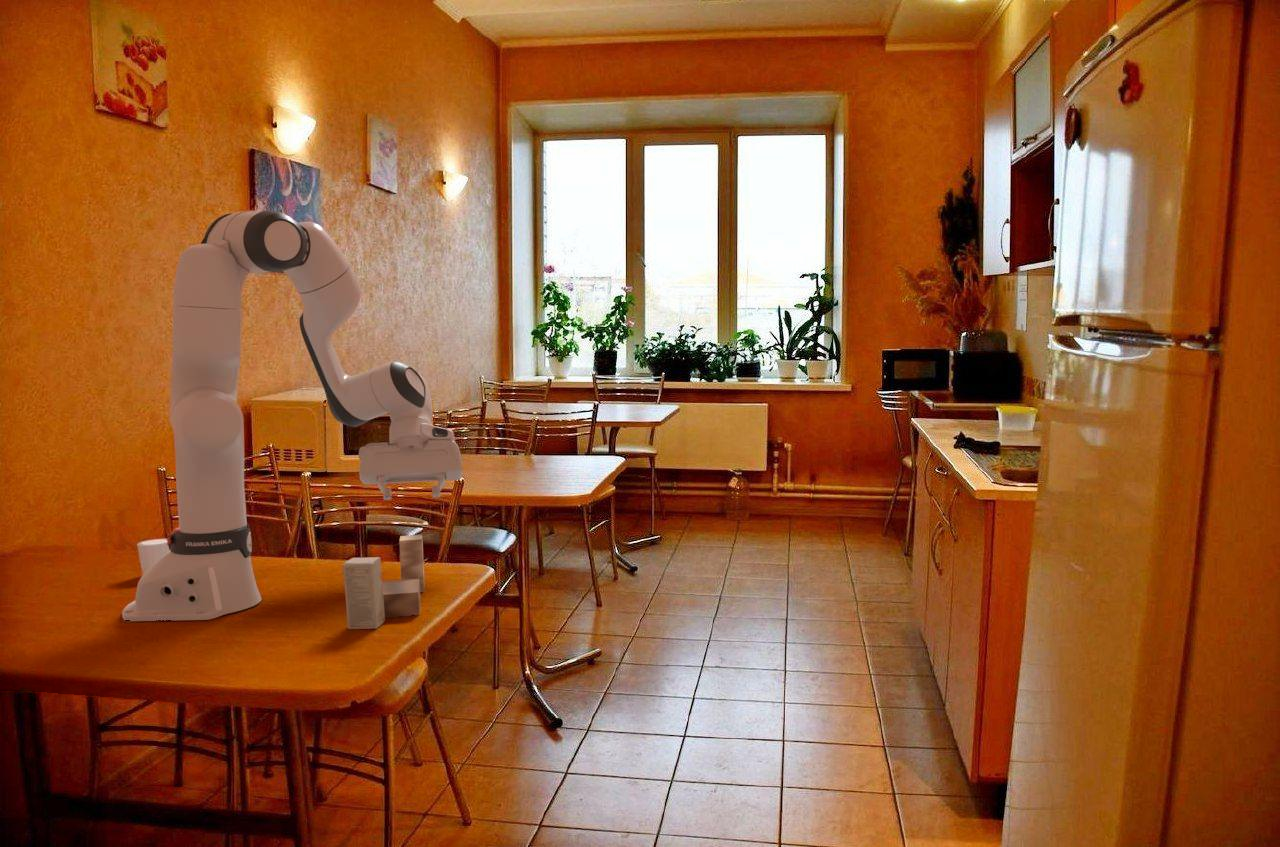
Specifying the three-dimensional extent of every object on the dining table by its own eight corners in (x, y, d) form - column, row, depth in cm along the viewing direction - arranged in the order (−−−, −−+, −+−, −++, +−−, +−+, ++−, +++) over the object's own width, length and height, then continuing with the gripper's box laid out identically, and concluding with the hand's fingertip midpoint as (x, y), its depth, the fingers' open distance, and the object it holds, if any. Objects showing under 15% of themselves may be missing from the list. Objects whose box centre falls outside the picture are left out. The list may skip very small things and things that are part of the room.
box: (386, 621, 167) (382, 556, 166) (376, 629, 163) (373, 563, 162) (355, 621, 168) (352, 556, 167) (345, 629, 164) (341, 563, 163)
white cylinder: (170, 569, 206) (168, 536, 206) (182, 575, 201) (179, 541, 201) (135, 575, 202) (132, 541, 201) (145, 582, 197) (143, 547, 196)
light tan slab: (364, 619, 169) (363, 596, 168) (368, 604, 178) (367, 582, 177) (419, 615, 171) (418, 592, 170) (420, 600, 179) (419, 578, 179)
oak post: (402, 594, 184) (399, 540, 183) (402, 588, 188) (400, 536, 187) (424, 592, 185) (421, 539, 184) (424, 586, 189) (422, 534, 188)
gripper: (357, 434, 201) (355, 490, 193) (460, 430, 205) (463, 485, 196) (360, 453, 206) (358, 509, 197) (461, 448, 210) (464, 503, 201)
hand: (411, 497), depth 197 cm, fingers open, 8 cm apart
